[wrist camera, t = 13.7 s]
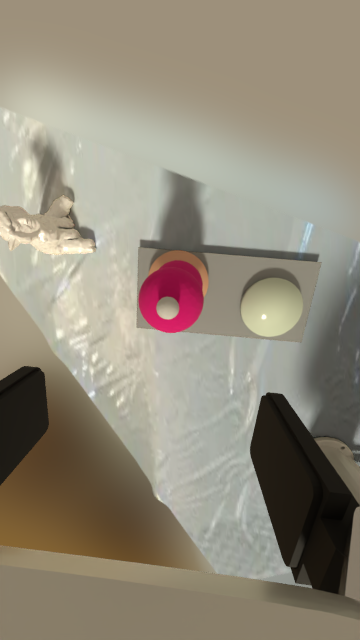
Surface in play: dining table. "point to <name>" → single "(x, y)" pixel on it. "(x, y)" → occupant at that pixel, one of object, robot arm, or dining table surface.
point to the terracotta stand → (183, 257)
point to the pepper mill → (172, 297)
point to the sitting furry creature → (44, 229)
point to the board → (237, 290)
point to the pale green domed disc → (271, 306)
